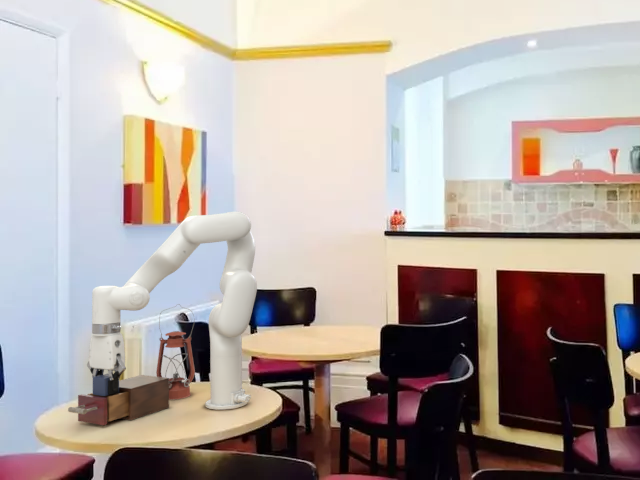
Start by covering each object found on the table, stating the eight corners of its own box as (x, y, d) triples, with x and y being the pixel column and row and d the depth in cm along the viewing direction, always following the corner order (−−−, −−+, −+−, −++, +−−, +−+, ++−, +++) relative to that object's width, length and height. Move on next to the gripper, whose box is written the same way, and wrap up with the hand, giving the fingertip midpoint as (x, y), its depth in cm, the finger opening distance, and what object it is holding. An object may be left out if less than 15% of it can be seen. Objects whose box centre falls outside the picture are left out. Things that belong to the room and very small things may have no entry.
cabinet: (130, 420, 198) (130, 388, 198) (102, 415, 203) (102, 384, 203) (169, 407, 211) (168, 378, 211) (141, 403, 216) (141, 374, 216)
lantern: (183, 390, 232) (183, 301, 233) (197, 396, 225) (196, 304, 226) (155, 396, 226) (155, 304, 226) (168, 401, 218) (167, 307, 219)
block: (119, 392, 198) (119, 374, 198) (104, 396, 194) (104, 378, 194) (107, 390, 200) (107, 373, 201) (92, 394, 196) (92, 376, 196)
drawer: (88, 430, 186) (88, 403, 186) (62, 425, 190) (62, 399, 190) (142, 412, 202) (142, 387, 202) (117, 409, 207) (117, 384, 207)
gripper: (138, 328, 197) (137, 392, 197) (96, 325, 205) (96, 386, 204) (116, 332, 191) (116, 398, 190) (74, 329, 198) (74, 392, 198)
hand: (106, 391), depth 197 cm, fingers closed on block, 5 cm apart
